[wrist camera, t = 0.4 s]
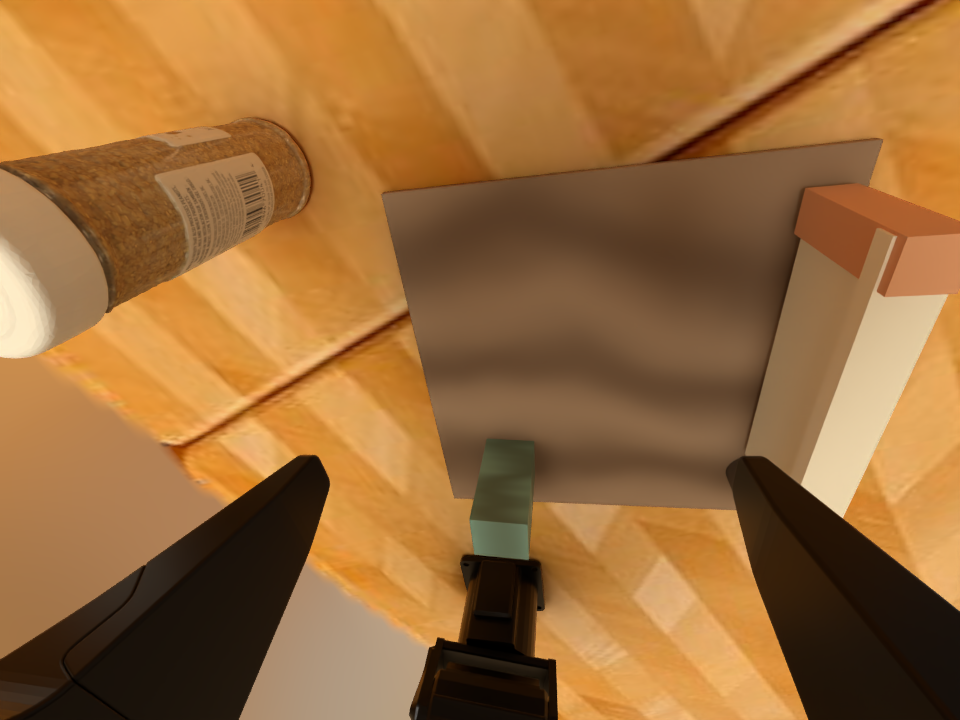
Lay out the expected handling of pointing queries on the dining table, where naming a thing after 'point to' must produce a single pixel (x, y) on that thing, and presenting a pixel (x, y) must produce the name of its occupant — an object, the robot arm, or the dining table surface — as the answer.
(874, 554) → the robot arm
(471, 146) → the dining table surface
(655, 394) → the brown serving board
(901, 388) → the orange and cream block
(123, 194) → the sprinkles bottle
